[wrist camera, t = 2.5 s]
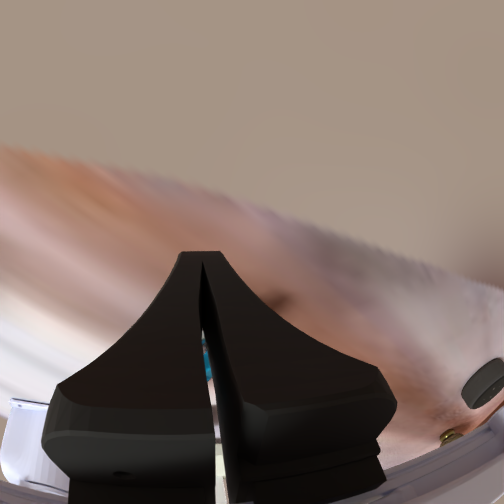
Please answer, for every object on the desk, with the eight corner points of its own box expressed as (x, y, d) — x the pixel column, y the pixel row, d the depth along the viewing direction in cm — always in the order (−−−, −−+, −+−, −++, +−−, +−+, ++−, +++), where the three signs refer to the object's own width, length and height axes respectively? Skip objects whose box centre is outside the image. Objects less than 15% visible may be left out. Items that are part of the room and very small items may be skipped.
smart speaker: (457, 401, 42) (468, 417, 38) (461, 379, 37) (474, 398, 34) (495, 372, 41) (506, 387, 38) (503, 347, 36) (516, 364, 33)
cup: (434, 435, 49) (450, 464, 42) (463, 417, 49) (479, 445, 42) (428, 446, 52) (442, 473, 46) (455, 430, 52) (470, 456, 46)
